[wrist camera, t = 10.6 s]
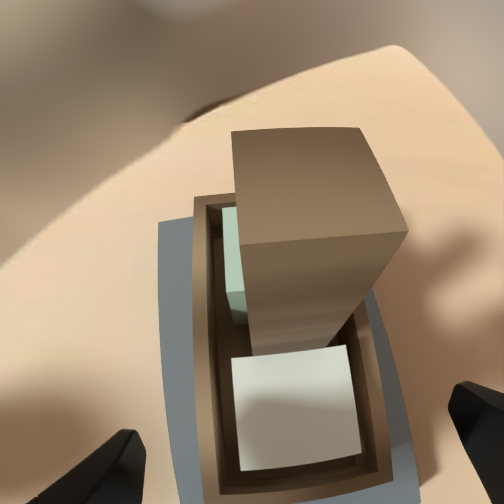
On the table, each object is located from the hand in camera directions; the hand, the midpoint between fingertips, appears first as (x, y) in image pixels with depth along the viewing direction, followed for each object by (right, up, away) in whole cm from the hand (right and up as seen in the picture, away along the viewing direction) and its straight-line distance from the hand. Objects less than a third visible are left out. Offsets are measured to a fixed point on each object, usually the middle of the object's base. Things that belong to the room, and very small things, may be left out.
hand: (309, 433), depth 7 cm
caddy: (0, 0, +8) cm, 8 cm away
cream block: (0, -3, +6) cm, 6 cm away
